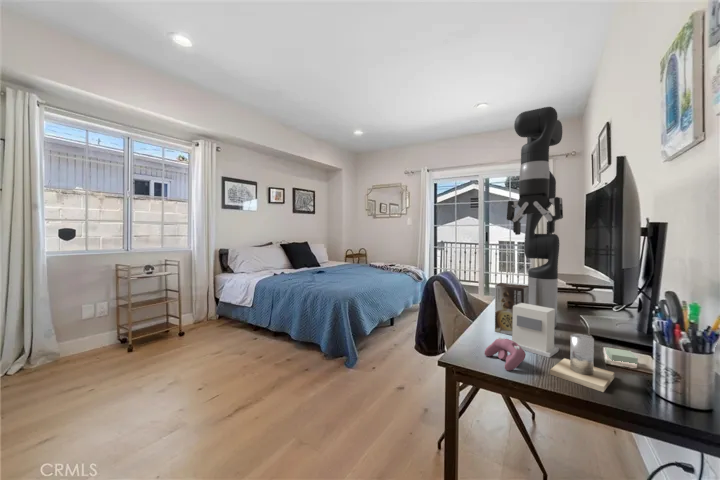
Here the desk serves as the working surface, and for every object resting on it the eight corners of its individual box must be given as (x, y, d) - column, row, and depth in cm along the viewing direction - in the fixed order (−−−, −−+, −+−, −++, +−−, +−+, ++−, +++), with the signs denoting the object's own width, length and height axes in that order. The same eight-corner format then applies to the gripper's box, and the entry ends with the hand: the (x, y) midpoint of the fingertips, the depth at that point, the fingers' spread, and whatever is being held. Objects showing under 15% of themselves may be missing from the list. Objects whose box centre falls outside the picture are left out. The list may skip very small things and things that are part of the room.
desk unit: (518, 339, 92) (519, 301, 92) (558, 351, 84) (559, 309, 84) (507, 345, 88) (508, 305, 88) (549, 357, 79) (550, 313, 79)
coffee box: (528, 333, 99) (529, 285, 98) (523, 338, 94) (524, 288, 93) (499, 327, 105) (500, 282, 104) (493, 331, 100) (494, 284, 100)
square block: (605, 358, 80) (606, 347, 80) (630, 362, 77) (630, 351, 77) (611, 366, 75) (611, 354, 75) (637, 370, 73) (637, 358, 73)
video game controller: (520, 377, 72) (532, 351, 72) (505, 370, 71) (517, 343, 71) (494, 359, 82) (505, 336, 82) (481, 353, 81) (492, 330, 81)
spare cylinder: (572, 364, 73) (572, 332, 72) (595, 370, 69) (595, 336, 69) (568, 370, 70) (568, 337, 69) (591, 377, 66) (592, 342, 66)
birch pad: (564, 362, 76) (564, 358, 76) (614, 377, 69) (614, 372, 69) (550, 374, 70) (550, 369, 70) (603, 392, 62) (603, 386, 62)
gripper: (567, 177, 83) (565, 235, 83) (514, 183, 94) (513, 234, 94) (557, 174, 78) (556, 235, 78) (503, 180, 89) (502, 234, 89)
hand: (532, 234), depth 86 cm, fingers open, 8 cm apart
